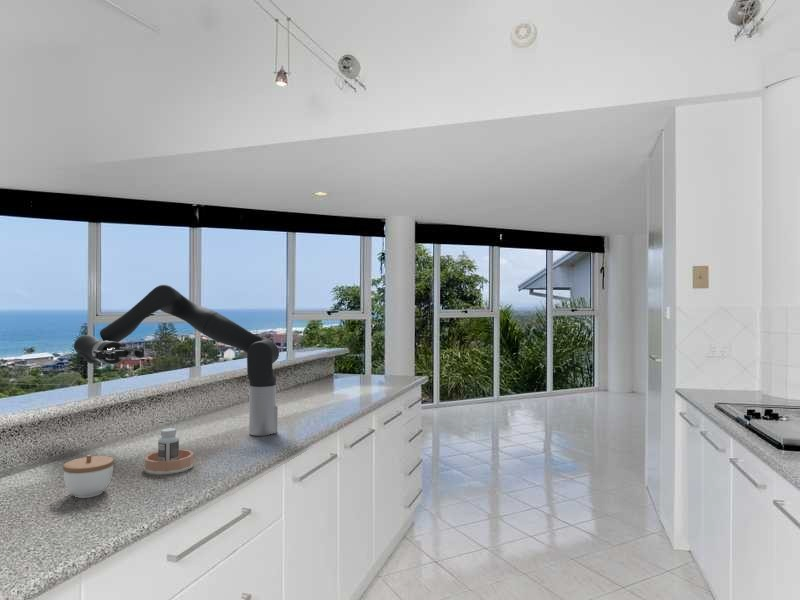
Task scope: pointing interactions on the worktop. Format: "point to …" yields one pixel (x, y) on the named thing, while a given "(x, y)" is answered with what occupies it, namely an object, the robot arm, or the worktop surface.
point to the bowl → (168, 463)
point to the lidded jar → (88, 475)
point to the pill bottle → (168, 445)
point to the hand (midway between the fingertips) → (128, 355)
